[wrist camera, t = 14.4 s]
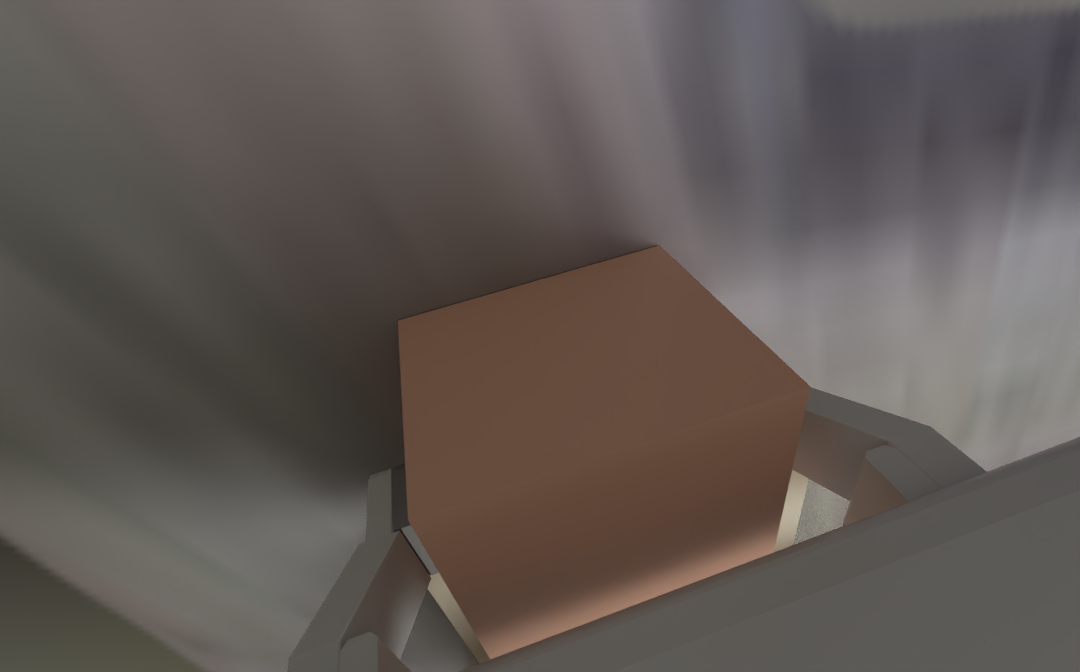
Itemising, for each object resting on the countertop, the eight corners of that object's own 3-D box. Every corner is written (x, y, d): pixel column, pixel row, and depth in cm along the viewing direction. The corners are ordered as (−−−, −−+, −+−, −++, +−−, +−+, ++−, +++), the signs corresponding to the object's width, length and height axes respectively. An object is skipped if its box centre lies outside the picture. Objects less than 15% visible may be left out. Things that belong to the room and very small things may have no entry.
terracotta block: (664, 424, 15) (767, 583, 11) (469, 488, 14) (503, 681, 10) (659, 245, 11) (810, 386, 7) (397, 320, 11) (408, 520, 7)
